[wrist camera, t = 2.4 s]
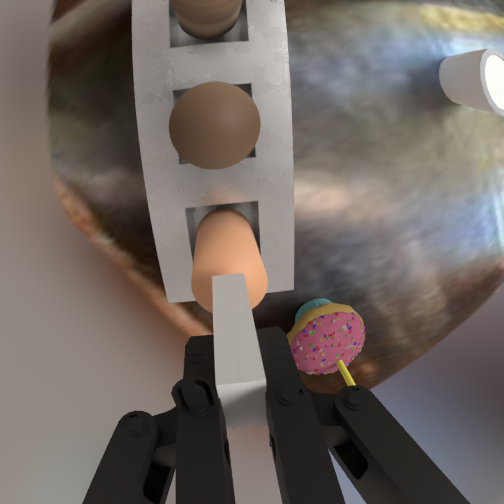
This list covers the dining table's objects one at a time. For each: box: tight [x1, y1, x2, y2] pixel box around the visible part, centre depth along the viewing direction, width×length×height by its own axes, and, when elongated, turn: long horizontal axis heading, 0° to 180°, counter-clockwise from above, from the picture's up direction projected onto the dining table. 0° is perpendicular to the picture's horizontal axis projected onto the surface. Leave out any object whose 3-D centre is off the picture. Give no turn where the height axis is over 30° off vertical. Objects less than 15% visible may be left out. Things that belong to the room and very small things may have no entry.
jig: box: [132, 0, 294, 303], centre depth 20 cm, size 26×10×6 cm, turn 3°
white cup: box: [439, 49, 504, 116], centre depth 20 cm, size 7×7×7 cm
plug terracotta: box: [191, 208, 268, 313], centre depth 19 cm, size 4×4×7 cm
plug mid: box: [169, 82, 261, 170], centre depth 15 cm, size 4×4×7 cm
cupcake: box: [287, 298, 366, 386], centre depth 28 cm, size 9×8×12 cm
